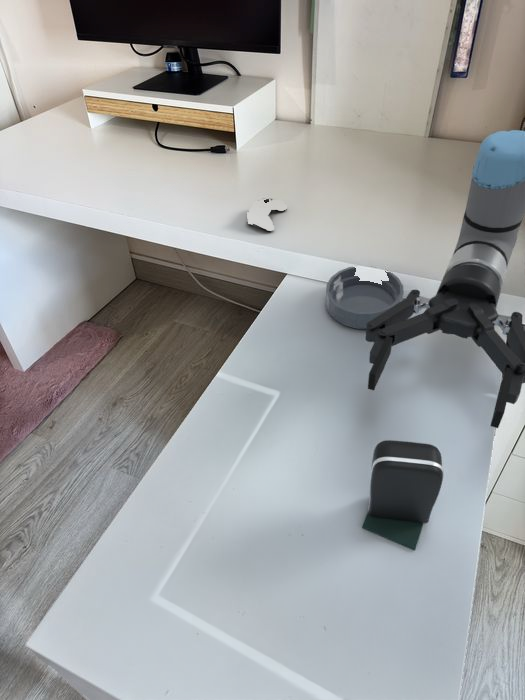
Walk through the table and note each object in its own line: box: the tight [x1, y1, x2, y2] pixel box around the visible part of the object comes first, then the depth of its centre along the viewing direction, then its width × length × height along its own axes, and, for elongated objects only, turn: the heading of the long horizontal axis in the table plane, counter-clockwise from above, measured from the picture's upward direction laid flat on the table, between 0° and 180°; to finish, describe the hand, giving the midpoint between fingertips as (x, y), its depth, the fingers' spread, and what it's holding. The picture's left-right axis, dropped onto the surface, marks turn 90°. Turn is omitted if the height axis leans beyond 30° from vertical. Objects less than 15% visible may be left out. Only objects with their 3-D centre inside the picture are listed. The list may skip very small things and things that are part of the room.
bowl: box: [325, 266, 404, 330], centre depth 81 cm, size 12×12×4 cm
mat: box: [361, 510, 424, 551], centre depth 58 cm, size 6×8×1 cm
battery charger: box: [367, 439, 445, 524], centre depth 54 cm, size 7×4×11 cm, turn 79°
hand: (431, 400), depth 55 cm, fingers open, 13 cm apart
